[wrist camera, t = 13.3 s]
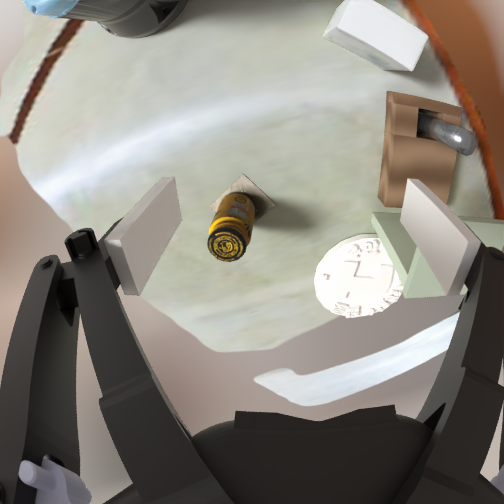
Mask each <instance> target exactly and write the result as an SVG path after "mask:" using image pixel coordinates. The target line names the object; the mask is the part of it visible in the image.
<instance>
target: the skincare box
mask: <svg viewBox="0 0 504 504" xmlns="http://www.w3.org/2000/svg"><path fill="white" fill-rule="evenodd" d="M323 38H325V39H327V40H329V41H331V42H333V43H335V44H337V45H339V46H341V47H343V48H345V49H347V50H349V51H351V52H353V53H355V54H357V55H358V56H360V57H362V58H364V59H366V60H367V61H369V62H371V63H373V64H374V65H376V66H378V67H379V68H381V69H382V70H401V71H413V70H414V68H415V66H416V64H417V62H418V60H419V58H420V56H421V53H422V51H423V49H424V47H425V45H426V42H427V40H428V38H429V37H428V35H427V34H425V33H424V32H422V31H421V30H420V29H418V28H417V27H415V26H414V25H412V24H411V23H409V22H408V21H407V20H405V19H403V18H402V17H400V16H399V15H397V14H396V13H394V12H392V11H391V10H389V9H387V8H386V7H384V6H383V5H381V4H379V3H377V2H376V1H374V0H344V1H343V2H342V3H341V4H340V5H339V6H338V7H337V8H336V10H335V12H334V14H333V16H332V18H331V20H330V22H329V24H328V26H327V28H326V30H325V32H324V35H323Z"/></svg>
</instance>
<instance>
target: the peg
mask: <svg viewBox="0 0 504 504" xmlns="http://www.w3.org/2000/svg"><path fill="white" fill-rule="evenodd" d="M417 131H419V132H422V133H424V134H426V135H428V136H430V137H432V138H434V139H436V140H437V141H439V142H441V143H443V144H445V145H447V146H449V147H451V148H452V149H454V150H456V151H458V152H459V153H461V154H463V155H465V156H468V155H471V154H472V153H473V152H474V150H475V148H476V138H475V136H474V134H473V133H472V132H471V131H469V130H466V129H464V128H462V127H459V126H457V125H454V124H452V123H449V122H447V121H444V120H441V119H439V118H436V117H433V116H430V115H428V114H425V113H422V112H418V122H417Z"/></svg>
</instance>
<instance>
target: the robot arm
mask: <svg viewBox="0 0 504 504" xmlns="http://www.w3.org/2000/svg"><path fill="white" fill-rule="evenodd" d="M23 1H24V4H25V6H26V8H27V9H28V10H29V11H30V12H32V13H34V14H37V15H45V16H48V17H50V18H68V19H79V20H89V21H96V22H98V23H99V24H101V26H102V27H103V28H104V29H105V30H106V31H108V32H109V33H111V34H113V35H116V36H119V37H125V38H140V37H145V36H149V35H151V34H154V33H156V32H158V31H160V30H162V29H163V28H165V27H166V26H167V25H169V24H170V23H171V22H172V21H173V20H174V19H175V18H176V17H177V16H178V15H179V14H180V13H181V11H182V10H183V8H184V7H185V5H186V3H187V0H23ZM181 221H182V216H181V211H180V205H179V200H178V194H177V188H176V182H175V177H164V178H161V179H160V180H159V181H158V182H157V183H156V184H155V185H154V186H153V187H152V188H151V189H150V190H149V191H148V192H147V193H146V194H145V196H144V197H143V198H142V199H141V200H140V201H139V202H138V203H137V204H136V205H135V206H134V207H133V208H132V209H131V210H130V211H129V212H128V213H127V215H126V216H125V217H123V218H121V219H120V220H118V221H117V222H115V223H114V224H113V225H112V227H111V228H110V229H109V230H108V231H107V232H106V234H104V236H103V237H102V238H101V239H100V240H99V241H98V242H97V240H96V237H95V234H94V231H93V230H92V229H91V228H83V229H80V230H77V231H75V232H73V233H72V234H71V235H69V236H68V237H67V238H66V240H65V245H66V248H67V250H68V252H69V255H70V257H71V260H72V261H71V262H66V263H62V264H61V262H60V260H59V258H58V256H57V255H49V256H47V257H44V258H43V259H41V260H40V261H39V262H38V263H37V264H36V266H35V267H34V270H33V272H32V275H31V277H30V280H29V282H28V285H27V288H26V290H25V293H24V296H23V299H22V302H21V305H20V308H19V311H18V315H17V318H16V321H15V324H14V328H13V332H12V335H11V339H10V343H9V347H8V351H7V356H6V360H5V365H4V370H3V375H2V381H1V387H0V504H89V503H90V501H91V497H92V496H91V493H90V491H89V490H88V489H87V488H86V486H85V484H84V482H83V481H82V480H81V478H80V455H79V454H80V453H79V440H78V429H77V413H76V412H77V411H76V356H77V341H78V327H79V318H80V314H81V319H82V324H83V328H84V332H85V336H86V340H87V344H88V348H89V352H90V356H91V359H92V363H93V366H94V369H95V372H96V376H97V379H98V382H99V385H100V388H101V391H102V395H103V397H102V398H100V399H99V405H100V409H101V411H102V414H103V417H104V420H105V422H106V425H107V428H108V430H109V433H110V435H111V437H112V440H113V442H114V444H115V447H116V449H117V451H118V454H119V456H120V458H121V460H122V462H123V464H124V466H125V468H126V470H127V472H128V474H129V476H130V478H131V480H132V482H133V484H131V485H130V486H128V487H127V488H126V489H124V490H123V491H121V492H120V493H118V494H117V495H115V496H114V497H112V498H111V499H109V500H108V501H106V502H105V503H103V504H504V407H503V423H502V433H501V443H500V459H499V474H498V475H497V476H495V477H494V478H493V479H492V480H491V482H489V481H488V480H487V479H486V478H485V477H484V476H483V475H481V474H480V471H481V469H482V466H483V464H484V461H485V459H486V456H487V454H488V451H489V448H490V445H491V442H492V439H493V436H494V433H495V430H496V426H497V423H498V420H499V416H500V412H501V408H502V404H503V400H504V387H503V386H501V385H499V384H498V380H499V375H500V370H501V365H502V359H503V367H504V253H503V252H502V251H500V250H499V249H497V248H494V247H486V246H485V244H484V243H483V242H482V241H481V240H480V239H479V238H478V237H477V235H475V233H474V232H473V231H471V229H470V228H469V227H468V226H467V224H465V223H464V222H463V221H462V220H461V219H460V218H459V217H458V216H457V215H456V214H455V213H454V212H453V211H452V210H451V209H450V208H449V207H448V206H447V205H446V204H445V203H444V202H443V201H442V200H441V199H440V198H438V197H437V196H436V195H435V194H434V193H433V192H432V191H431V190H430V189H429V188H428V187H427V186H425V185H424V184H423V183H422V182H421V181H420V180H419V179H410V178H408V179H407V185H406V191H405V196H404V202H403V207H402V212H401V217H400V222H401V224H402V225H403V226H404V228H405V229H406V231H407V232H408V234H409V235H410V237H411V238H412V240H413V241H414V243H415V244H416V246H417V247H418V249H419V250H420V252H421V253H422V255H423V257H424V258H425V260H426V261H427V263H428V265H429V266H430V268H431V270H432V271H433V273H434V275H435V276H436V278H437V280H438V281H439V283H440V285H441V287H442V289H443V290H444V292H445V294H446V296H450V295H459V294H460V292H461V290H462V287H463V285H464V284H465V285H466V287H467V289H468V290H467V292H466V294H465V296H464V298H463V301H462V302H461V304H460V306H459V308H458V309H459V310H460V309H461V311H460V315H459V318H458V321H457V324H456V328H455V331H454V334H453V337H452V339H451V342H450V345H449V348H448V351H447V353H446V356H445V358H444V361H443V364H442V366H441V368H440V371H439V373H438V376H437V378H436V380H435V383H434V385H433V387H432V389H431V391H430V393H429V395H428V398H427V400H426V402H425V404H424V406H423V408H422V410H421V412H420V413H419V415H418V416H417V418H416V419H413V418H410V417H407V416H402V415H398V414H396V410H395V405H388V406H381V407H373V408H365V409H358V410H355V411H352V412H349V413H346V414H343V415H340V416H337V417H334V418H331V419H327V420H324V421H312V420H307V419H302V418H297V417H293V416H288V415H284V414H280V413H269V412H268V413H267V412H246V411H236V412H235V420H234V421H228V422H224V423H219V424H216V425H214V426H211V427H209V428H207V429H205V430H203V431H201V432H199V433H197V434H196V435H194V436H192V435H191V433H190V432H189V430H188V429H187V427H186V426H185V424H184V423H183V421H182V420H181V418H180V417H179V415H178V413H177V412H176V410H175V409H174V407H173V405H172V403H171V402H170V400H169V398H168V396H167V395H166V393H165V391H164V389H163V388H162V386H161V384H160V382H159V380H158V378H157V377H156V375H155V373H154V371H153V369H152V367H151V365H150V363H149V361H148V359H147V357H146V355H145V354H144V352H143V349H142V347H141V345H140V343H139V341H138V339H137V337H136V334H135V332H134V330H133V328H132V326H131V324H130V321H129V319H128V317H127V314H126V312H125V310H124V307H123V305H122V302H121V300H120V297H119V295H118V293H117V291H116V290H117V288H118V287H119V285H120V284H121V287H122V289H123V291H124V294H125V295H137V296H140V294H141V292H142V290H143V289H144V287H145V285H146V283H147V281H148V279H149V277H150V275H151V274H152V272H153V270H154V268H155V266H156V264H157V263H158V261H159V259H160V257H161V255H162V254H163V252H164V250H165V248H166V247H167V245H168V243H169V241H170V240H171V238H172V236H173V234H174V233H175V231H176V229H177V228H178V226H179V224H180V223H181Z"/></svg>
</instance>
